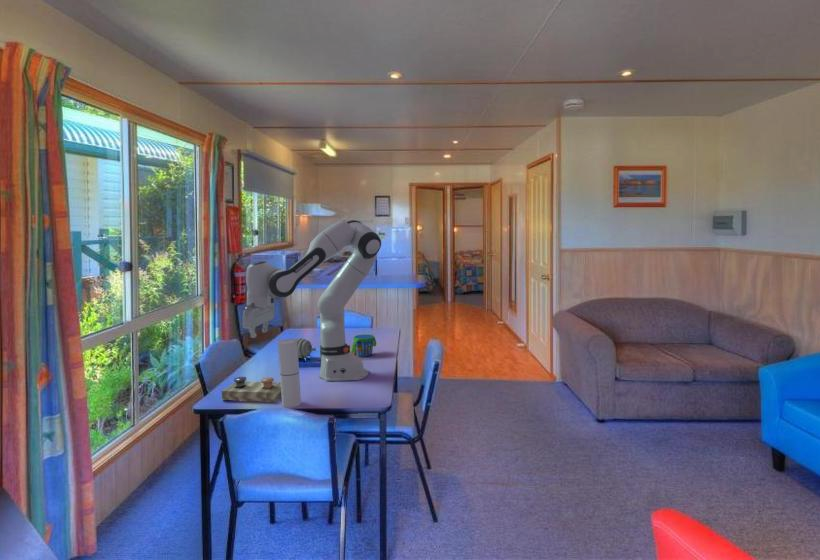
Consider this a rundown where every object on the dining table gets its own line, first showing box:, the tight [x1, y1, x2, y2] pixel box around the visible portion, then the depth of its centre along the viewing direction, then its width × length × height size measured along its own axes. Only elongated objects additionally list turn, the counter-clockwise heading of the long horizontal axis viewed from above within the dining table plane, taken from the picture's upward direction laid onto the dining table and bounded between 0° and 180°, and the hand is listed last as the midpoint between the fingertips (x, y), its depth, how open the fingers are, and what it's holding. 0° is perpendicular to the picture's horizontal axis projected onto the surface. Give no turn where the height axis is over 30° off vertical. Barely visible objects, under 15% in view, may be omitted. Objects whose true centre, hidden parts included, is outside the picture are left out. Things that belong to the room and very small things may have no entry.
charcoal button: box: [233, 376, 247, 388], centre depth 208 cm, size 5×5×4 cm
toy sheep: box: [295, 338, 317, 359], centre depth 259 cm, size 11×17×11 cm, turn 76°
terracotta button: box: [260, 377, 275, 389], centre depth 206 cm, size 5×5×4 cm
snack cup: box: [351, 333, 377, 358], centre depth 263 cm, size 16×10×10 cm
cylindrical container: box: [277, 338, 302, 408], centre depth 196 cm, size 7×7×25 cm
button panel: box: [221, 381, 282, 403], centre depth 207 cm, size 22×12×4 cm, turn 79°
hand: (259, 334), depth 208 cm, fingers open, 8 cm apart
